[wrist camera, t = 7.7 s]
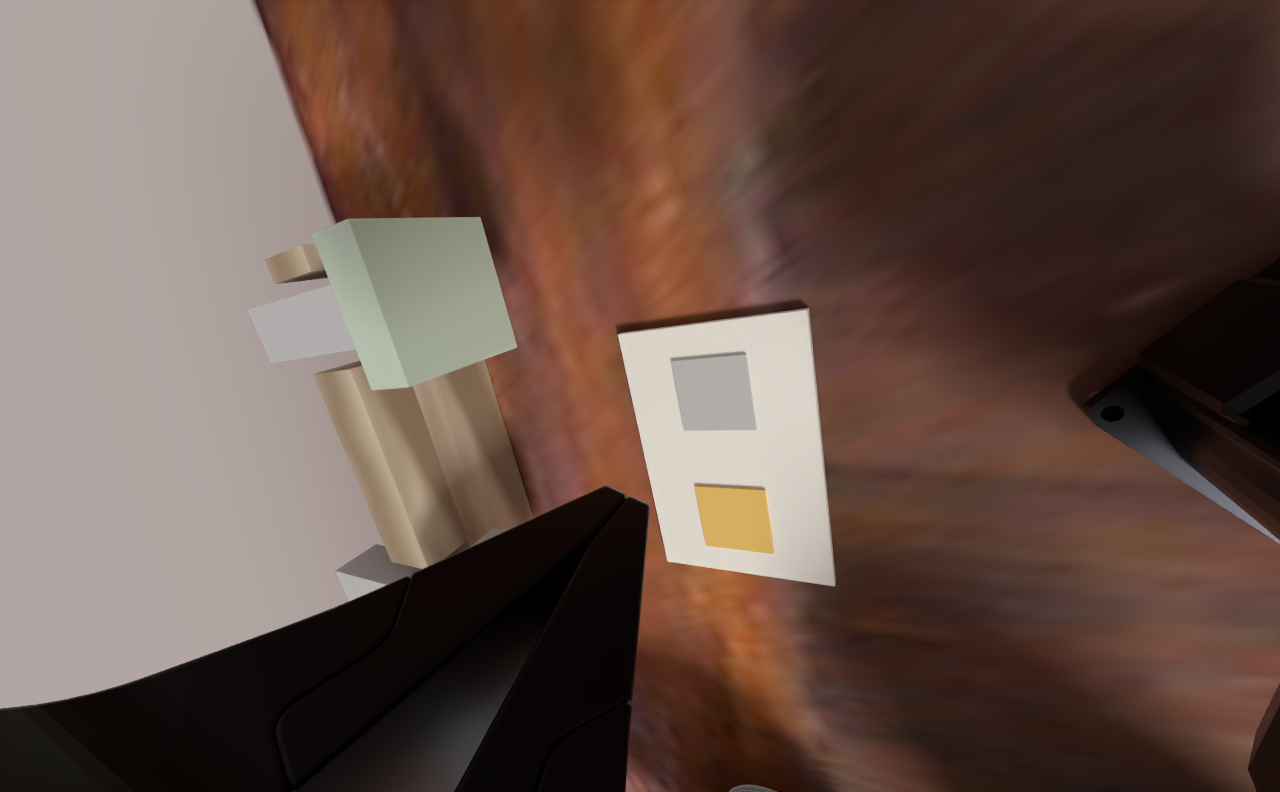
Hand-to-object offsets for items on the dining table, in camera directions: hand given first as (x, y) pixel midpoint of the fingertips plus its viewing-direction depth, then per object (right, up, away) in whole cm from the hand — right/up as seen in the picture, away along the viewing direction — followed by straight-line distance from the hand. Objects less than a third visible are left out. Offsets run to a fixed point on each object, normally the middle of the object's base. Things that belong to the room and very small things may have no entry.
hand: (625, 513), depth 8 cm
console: (-9, +1, +19) cm, 21 cm away
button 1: (-10, +6, +12) cm, 17 cm away
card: (+4, -1, +12) cm, 13 cm away
